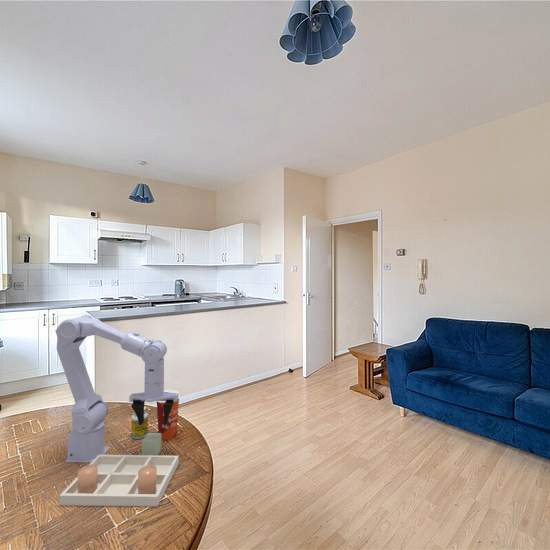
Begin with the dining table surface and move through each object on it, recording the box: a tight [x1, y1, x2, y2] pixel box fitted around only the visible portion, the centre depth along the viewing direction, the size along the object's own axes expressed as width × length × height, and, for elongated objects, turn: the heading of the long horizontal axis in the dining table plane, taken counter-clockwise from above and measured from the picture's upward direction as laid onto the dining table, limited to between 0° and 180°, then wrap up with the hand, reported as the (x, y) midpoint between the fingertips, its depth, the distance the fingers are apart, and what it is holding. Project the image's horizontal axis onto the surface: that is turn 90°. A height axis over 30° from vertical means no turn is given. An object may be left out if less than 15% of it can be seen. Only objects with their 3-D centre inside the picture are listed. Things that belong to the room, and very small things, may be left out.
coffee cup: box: [156, 389, 181, 441], centre depth 106 cm, size 8×8×15 cm
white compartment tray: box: [58, 454, 180, 508], centre depth 82 cm, size 24×16×3 cm
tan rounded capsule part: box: [138, 465, 157, 494], centre depth 78 cm, size 4×4×6 cm
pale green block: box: [141, 432, 162, 455], centre depth 95 cm, size 4×4×6 cm
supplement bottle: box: [131, 405, 149, 440], centre depth 107 cm, size 5×5×10 cm
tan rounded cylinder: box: [77, 464, 98, 494], centre depth 78 cm, size 4×4×6 cm
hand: (153, 423), depth 95 cm, fingers open, 7 cm apart
